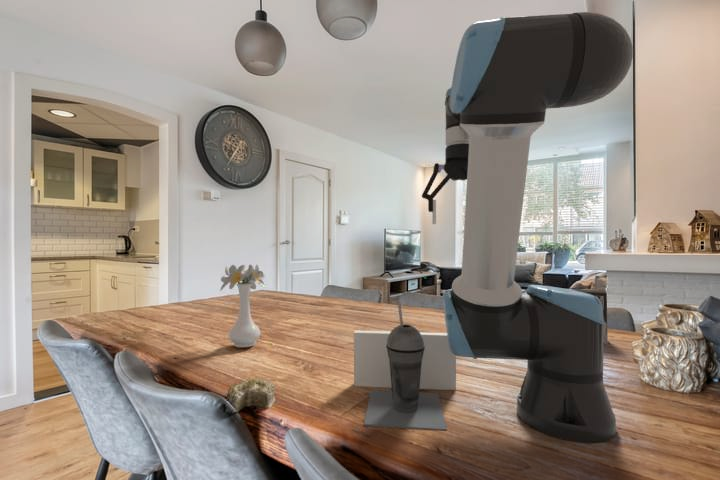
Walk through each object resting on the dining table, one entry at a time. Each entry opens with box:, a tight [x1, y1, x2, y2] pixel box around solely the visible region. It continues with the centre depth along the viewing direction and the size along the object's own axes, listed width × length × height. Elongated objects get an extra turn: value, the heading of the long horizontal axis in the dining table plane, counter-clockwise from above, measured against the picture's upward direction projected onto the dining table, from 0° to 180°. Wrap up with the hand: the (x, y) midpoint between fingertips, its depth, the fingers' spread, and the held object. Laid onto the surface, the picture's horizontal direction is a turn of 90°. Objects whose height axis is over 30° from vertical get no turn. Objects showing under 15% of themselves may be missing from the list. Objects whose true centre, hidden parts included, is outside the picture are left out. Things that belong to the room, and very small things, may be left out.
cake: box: [226, 378, 276, 413], centre depth 71 cm, size 10×10×5 cm
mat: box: [363, 389, 448, 431], centre depth 68 cm, size 14×14×1 cm
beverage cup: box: [386, 301, 425, 413], centre depth 68 cm, size 7×7×20 cm
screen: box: [353, 329, 457, 391], centre depth 79 cm, size 22×2×12 cm, turn 83°
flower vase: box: [219, 264, 266, 348], centre depth 111 cm, size 13×18×25 cm
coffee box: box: [573, 288, 609, 345], centre depth 115 cm, size 9×6×16 cm
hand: (459, 224), depth 97 cm, fingers open, 13 cm apart
